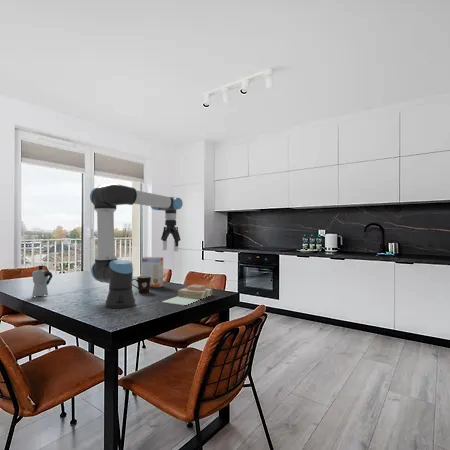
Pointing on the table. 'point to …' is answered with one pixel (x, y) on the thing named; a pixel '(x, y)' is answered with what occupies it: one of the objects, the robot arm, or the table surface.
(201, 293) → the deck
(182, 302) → the mat
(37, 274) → the coffee maker
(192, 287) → the coaster
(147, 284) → the coffee mug
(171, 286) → the table surface
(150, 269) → the cracker box
